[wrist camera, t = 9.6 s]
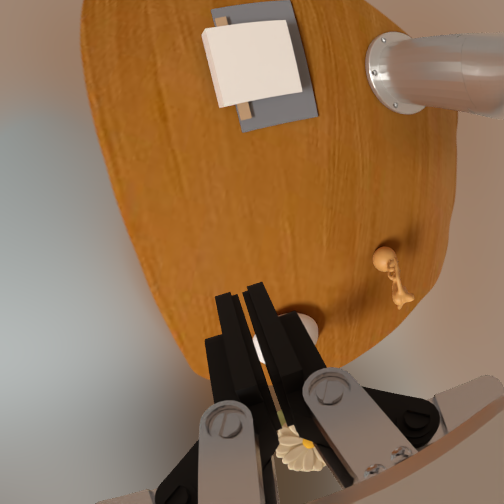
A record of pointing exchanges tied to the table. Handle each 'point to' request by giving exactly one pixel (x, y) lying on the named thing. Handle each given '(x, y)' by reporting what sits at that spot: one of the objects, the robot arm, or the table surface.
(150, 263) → the table surface
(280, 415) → the flower in vase
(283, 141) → the table surface
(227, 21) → the charcoal mat
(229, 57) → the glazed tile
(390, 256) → the figurine
